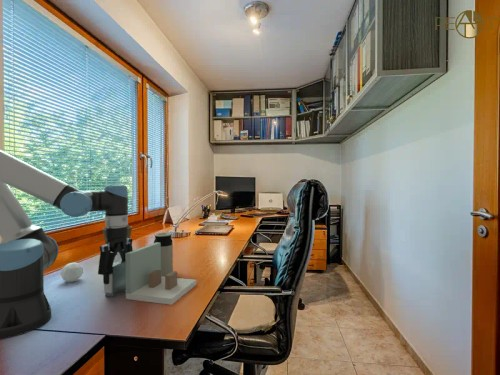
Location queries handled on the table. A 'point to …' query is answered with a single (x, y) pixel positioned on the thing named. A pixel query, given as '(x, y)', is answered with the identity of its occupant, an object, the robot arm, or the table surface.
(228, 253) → the table surface
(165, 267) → the travel mug
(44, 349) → the table surface
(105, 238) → the plant pot
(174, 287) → the l-shaped bookend
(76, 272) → the ball
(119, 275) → the grey rectangular box
